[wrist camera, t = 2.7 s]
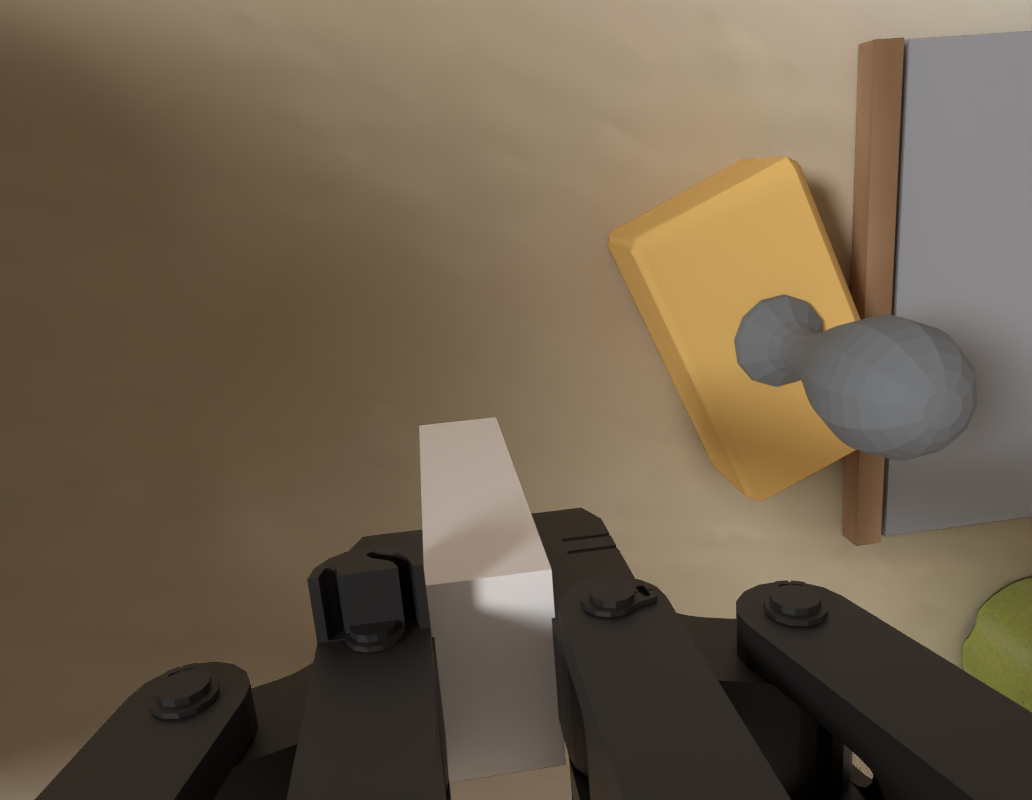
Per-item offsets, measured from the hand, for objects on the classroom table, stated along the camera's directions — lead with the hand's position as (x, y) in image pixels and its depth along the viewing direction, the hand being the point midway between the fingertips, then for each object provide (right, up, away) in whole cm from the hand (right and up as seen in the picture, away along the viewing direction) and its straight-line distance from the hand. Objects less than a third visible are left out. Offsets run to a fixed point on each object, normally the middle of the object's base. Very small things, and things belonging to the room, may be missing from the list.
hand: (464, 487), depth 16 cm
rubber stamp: (+9, +5, +14) cm, 17 cm away
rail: (+14, +5, +14) cm, 20 cm away
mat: (+20, +6, +15) cm, 25 cm away
